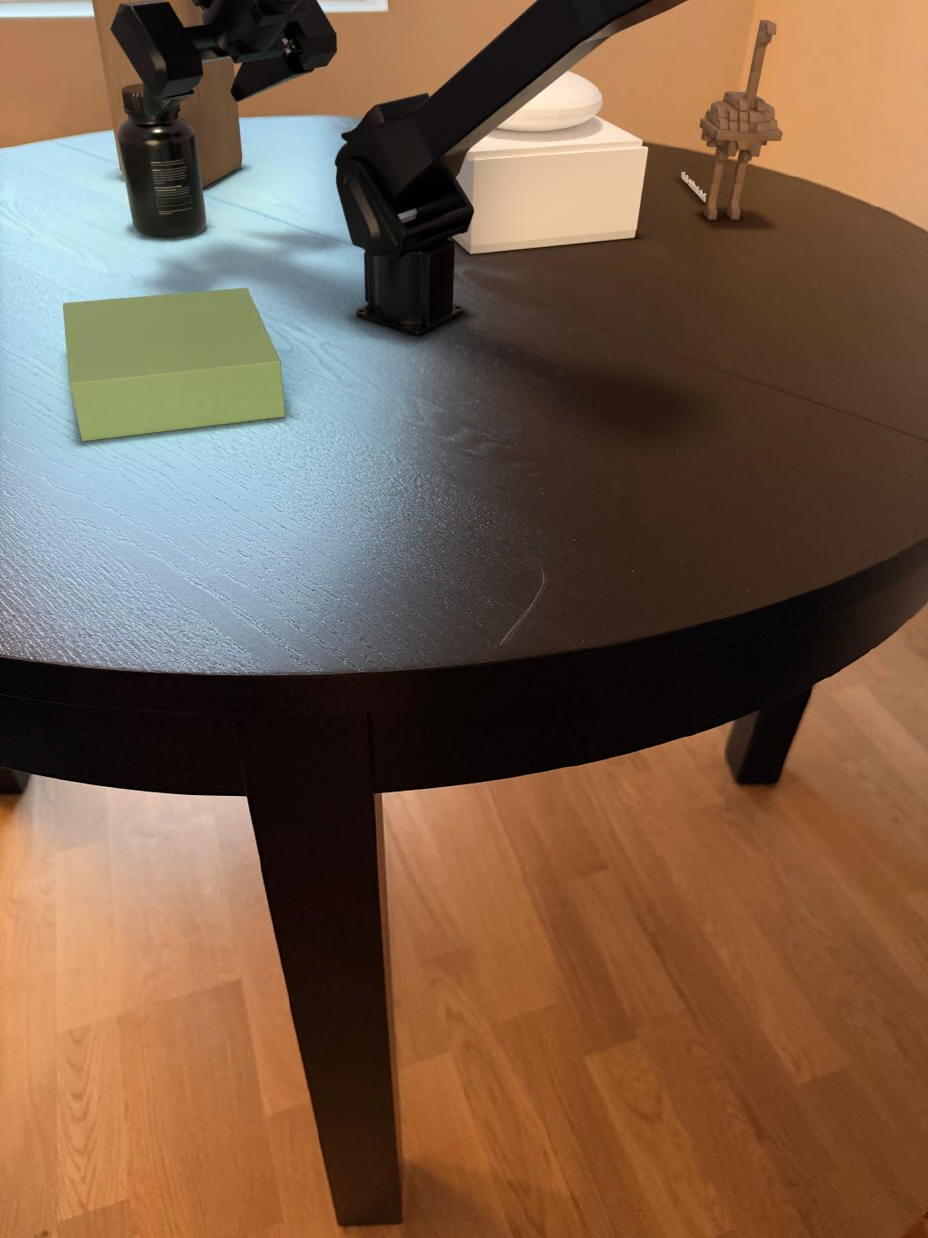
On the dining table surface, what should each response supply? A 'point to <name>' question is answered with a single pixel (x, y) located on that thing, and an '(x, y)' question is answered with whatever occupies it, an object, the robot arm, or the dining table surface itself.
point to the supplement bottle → (160, 170)
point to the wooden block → (203, 111)
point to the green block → (170, 363)
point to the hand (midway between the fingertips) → (193, 104)
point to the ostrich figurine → (738, 130)
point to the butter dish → (553, 175)
